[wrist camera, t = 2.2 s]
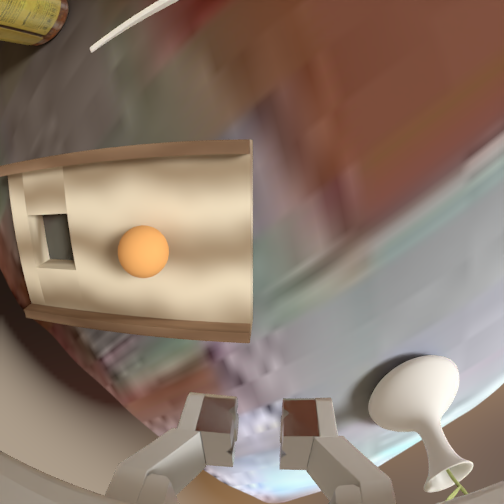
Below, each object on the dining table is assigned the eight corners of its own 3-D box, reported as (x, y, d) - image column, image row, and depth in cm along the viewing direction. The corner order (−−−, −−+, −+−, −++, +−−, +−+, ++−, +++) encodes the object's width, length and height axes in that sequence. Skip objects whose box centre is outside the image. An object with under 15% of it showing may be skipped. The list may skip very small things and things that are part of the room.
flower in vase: (346, 392, 33) (381, 606, 9) (428, 328, 29) (539, 534, 6) (400, 433, 35) (442, 592, 12) (469, 382, 32) (547, 535, 8)
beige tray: (22, 161, 26) (-3, 166, 23) (252, 139, 25) (248, 139, 21) (45, 301, 32) (26, 317, 28) (252, 318, 30) (249, 343, 26)
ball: (128, 219, 25) (105, 233, 21) (173, 219, 25) (156, 233, 21) (133, 265, 27) (113, 285, 23) (177, 267, 26) (161, 288, 22)
